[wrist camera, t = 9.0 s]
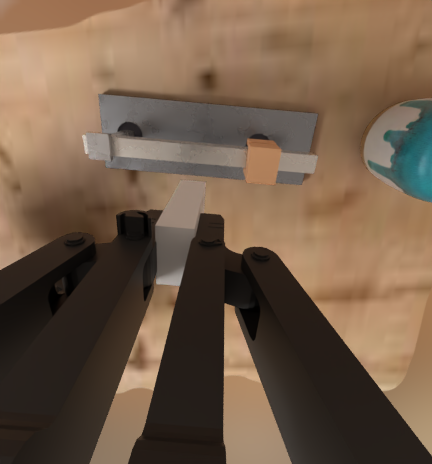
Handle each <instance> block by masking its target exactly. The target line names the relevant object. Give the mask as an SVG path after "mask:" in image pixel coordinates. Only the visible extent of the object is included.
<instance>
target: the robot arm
mask: <svg viewBox="0 0 432 464" xmlns="http://www.w3.org/2000/svg"><path fill="white" fill-rule="evenodd" d="M205 189H206V182H203V181H192V180H180V182H179V184H178V186H177V187H176V189H175V191H174V193H173V195H172V196H171V198H170V200H169V202H168V203H167V205H166V207H165V209H164V211H162V210H149V211H147V212H145V211H140V210H130V211H124V212H121V213H119V214H117V215H116V219H117V230H118V235H117V237H116V238H115V239H114V240H113V242H112V243H102V244H95V238H94V237H93V235H90V234H88V233H82V232H78V233H77V232H76V233H71V234H68V235H65V236H62V237H60V238H58V239H56V240H54V241H52V242H51V243H49V244H47V245H45V246H43V247H42V248H40V249H38V250H36V251H34V252H32V253H31V254H29V255H27V256H25V257H23V258H22V259H20V260H18V261H16V262H14V263H12V264H11V265H9V266H7V267H5V268H3V269H2V270H0V464H89V463H90V460H91V458H92V455H93V452H94V450H95V447H96V444H97V442H98V439H99V436H100V434H101V431H102V428H103V426H104V423H105V420H106V417H107V415H108V412H109V409H110V407H111V404H112V401H113V399H114V396H115V393H116V391H117V388H118V385H119V383H120V380H121V377H122V375H123V372H124V369H125V366H126V364H127V361H128V358H129V356H130V353H131V350H132V348H133V345H134V342H135V340H136V337H137V334H138V332H139V329H140V326H141V324H142V321H143V318H144V315H145V313H146V310H147V307H148V305H149V302H150V299H151V297H152V294H153V290H154V284H153V281H154V278H155V276H156V284H162V285H174V286H180V288H179V292H178V296H177V300H176V304H175V308H174V312H173V316H172V320H171V324H170V328H169V332H168V336H167V340H166V344H165V348H164V352H163V355H162V359H161V363H160V367H159V371H158V375H157V379H156V383H155V387H154V391H153V396H152V399H151V403H150V407H149V411H148V415H147V419H146V423H145V427H144V430H143V433H142V435H141V436H140V437H139V438H138V439H137V440H136V442H135V445H134V447H133V449H132V452H131V456H130V459H129V462H128V464H226V451H225V445H224V441H223V394H224V393H223V391H224V387H223V386H224V303H226V304H229V305H232V306H235V313H236V316H237V318H238V321H239V324H240V326H241V329H242V332H243V334H244V337H245V340H246V342H247V345H248V348H249V350H250V353H251V356H252V358H253V361H254V364H255V366H256V369H257V372H258V374H259V377H260V380H261V382H262V385H263V388H264V390H265V393H266V396H267V398H268V401H269V404H270V406H271V409H272V412H273V414H274V417H275V420H276V422H277V425H278V428H279V430H280V433H281V436H282V438H283V441H284V444H285V446H286V449H287V452H288V454H289V457H290V460H291V462H292V464H432V456H431V454H430V453H429V452H428V451H427V449H426V448H425V447H424V445H423V444H422V443H421V442H420V440H419V439H418V437H417V436H416V435H415V434H414V432H413V431H412V430H411V428H410V427H409V426H408V424H407V423H406V422H405V421H404V419H403V418H402V417H401V415H400V414H399V413H398V411H397V410H396V409H395V408H394V407H393V405H392V404H391V402H390V401H389V400H388V399H387V397H386V396H385V395H384V393H383V392H382V391H381V389H380V388H379V387H378V385H377V384H376V383H375V382H374V380H373V379H372V378H371V376H370V375H369V374H368V372H367V371H366V370H365V369H364V367H363V366H362V365H361V363H360V362H359V361H358V359H357V358H356V357H355V356H354V354H353V353H352V352H351V350H350V349H349V348H348V346H347V345H346V344H345V342H344V341H343V340H342V339H341V337H340V336H339V335H338V333H337V332H336V331H335V329H334V328H333V327H332V326H331V324H330V323H329V322H328V320H327V319H326V318H325V316H324V315H323V314H322V313H321V311H320V310H319V309H318V307H317V306H316V305H315V303H314V302H313V301H312V300H311V298H310V297H309V296H308V294H307V293H306V292H305V290H304V289H303V288H302V287H301V285H300V284H299V283H298V281H297V280H296V279H295V277H294V276H293V275H292V274H291V272H290V271H289V270H288V268H287V267H286V266H285V264H284V263H283V262H282V261H281V259H280V258H279V257H278V255H277V254H276V253H274V252H273V251H271V250H269V249H267V248H263V247H250V248H247V249H245V250H244V252H243V254H238V253H235V252H233V251H231V250H229V249H228V248H226V246H225V243H224V219H223V217H222V216H221V215H216V214H205V213H204V204H205Z"/></svg>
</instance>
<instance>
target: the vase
mask: <svg viewBox="0 0 432 464" xmlns="http://www.w3.org/2000/svg"><path fill="white" fill-rule="evenodd" d="M360 152H361V158H362V161H363V163H364V165H365V166H366V168H367V169H368V170H369V171H370V172H371V173H372V174H373V175H374V176H375V177H377V178H378V179H380V180H381V181H383V182H384V183H386V184H387V185H389V186H391V187H393V188H395V189H397V190H399V191H401V192H403V193H405V194H407V195H410V196H412V197H414V198H417V199H420V200H423V201H427V202H432V98H424V99H415V100H409V101H404V102H401V103H397V104H395V105H393V106H390V107H388V108H387V109H385V110H383V111H382V112H381V113H379V114H378V115H377V116H376V117H375V118H374V119H373V120H372V121H371V122H370V124H369V125H368V126H367V128H366V130H365V132H364V134H363V136H362V140H361V146H360Z"/></svg>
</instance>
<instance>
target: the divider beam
mask: <svg viewBox="0 0 432 464" xmlns="http://www.w3.org/2000/svg"><path fill="white" fill-rule="evenodd" d="M83 142H84V150H85V153H86V154H89V159H94V160H106V161H112V160H114V159H113V156H120V157H131V158H142V159H153V160H165V161H176V162H187V163H198V164H209V165H221V166H232V167H243V168H246V160H247V153H248V147H245V146H233V145H222V144H211V143H200V142H189V141H177V140H166V139H155V138H144V137H135V135H134V131H131V130H122V131H119V132H116V133H112V134H111V133H100V132H86V134H84V135H83ZM317 159H318V155H316V154H314V153H312V152H301V151H289V150H282V151H281V156H280V161H279V167H278V171H288V172H299V173H311V174H314V171H315V167H316V163H317Z"/></svg>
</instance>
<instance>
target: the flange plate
mask: <svg viewBox="0 0 432 464" xmlns="http://www.w3.org/2000/svg"><path fill="white" fill-rule="evenodd" d="M98 95H99V105H100V115H101V125H102V133H111V134H112V133H116V132H119V131H122V130H131V131H134V135H135V137H144V138H155V139H166V140H177V141H189V142H200V143H211V144H222V145H233V146H245V147H248V146H247V138H249V139H260V140H271V141H274V142H275V143H276V145H277V146H278V147H280V148H281V149H282V150H289V151H301V152H310V147H311V143H312V138H313V134H314V130H315V125H316V121H317V117H318V114H317V113H306V112H295V111H284V110H273V109H262V108H251V107H240V106H228V105H217V104H206V103H195V102H184V101H173V100H162V99H151V98H139V97H128V96H117V95H106V94H98ZM113 159H114V160H112V161H106V160H105V164H106V168H116V169H128V170H139V171H150V172H161V173H173V174H184V175H195V176H206V177H218V178H229V179H240V180H246V179H245V176H244V172H243V169H244V168H243V167H232V166H221V165H209V164H198V163H187V162H176V161H165V160H153V159H142V158H131V157H120V156H113ZM303 178H304V173H299V172H288V171H278V172H277V178H276V183H285V184H296V185H302V182H303Z"/></svg>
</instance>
